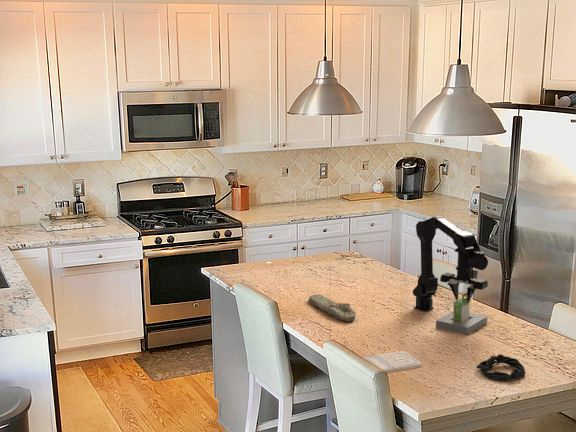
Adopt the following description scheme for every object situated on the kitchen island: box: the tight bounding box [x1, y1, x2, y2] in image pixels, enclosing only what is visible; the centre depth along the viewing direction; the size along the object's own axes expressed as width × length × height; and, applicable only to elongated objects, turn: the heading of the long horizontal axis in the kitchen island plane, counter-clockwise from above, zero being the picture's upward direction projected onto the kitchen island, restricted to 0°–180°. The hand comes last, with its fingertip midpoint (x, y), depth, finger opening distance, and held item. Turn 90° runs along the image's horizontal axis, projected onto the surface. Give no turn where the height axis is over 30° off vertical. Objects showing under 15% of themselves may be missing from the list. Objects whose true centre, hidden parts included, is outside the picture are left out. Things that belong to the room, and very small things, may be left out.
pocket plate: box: [435, 311, 488, 336], centre depth 305 cm, size 14×18×3 cm
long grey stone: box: [308, 294, 356, 322], centre depth 324 cm, size 35×5×10 cm
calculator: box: [362, 350, 423, 373], centre depth 265 cm, size 13×20×2 cm, turn 112°
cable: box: [475, 354, 526, 382], centre depth 257 cm, size 17×14×4 cm
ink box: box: [452, 292, 470, 323], centre depth 304 cm, size 7×4×13 cm, turn 140°
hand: (462, 301), depth 304 cm, fingers open, 5 cm apart
